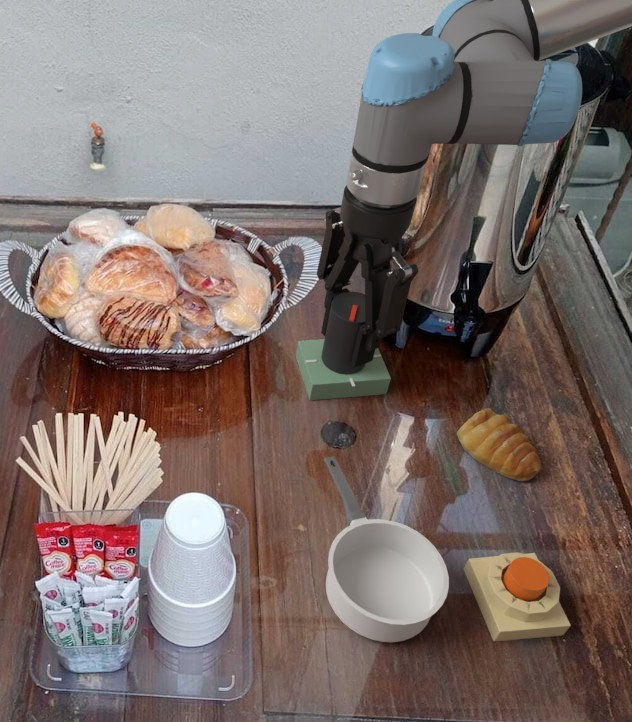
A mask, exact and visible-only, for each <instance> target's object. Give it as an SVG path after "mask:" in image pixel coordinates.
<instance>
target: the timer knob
mask: <svg viewBox="0 0 632 722" xmlns="http://www.w3.org/2000/svg"><path fill="white" fill-rule="evenodd" d="M363 324H365V293H362V292H359V291H350V292H345V293H341V294H339V295H337V296H336V297H335V298H334V299H333V300H332V303H331V309H330V314H329V319H328V324H327V329H326V334H325V336H324V339H325V340H324V345H323V350H322V355H321V358H322V361H323V363H324V365H325V366H326V367H327V368H329V369H330V370H332V371H334V372H336V373H340V374H354V373H357V372H359V371H360V370H362V369H363V368H364V366H365V364H366V363H365V364H363V365H360V366H358V367H355V368H354V367H353V366H352V365H351V361H352V356H353V352H354V348H355V344H356V339H357V335H358V331H359V327H360V325H363Z"/></svg>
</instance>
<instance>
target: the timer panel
mask: <svg viewBox="0 0 632 722" xmlns="http://www.w3.org/2000/svg"><path fill="white" fill-rule="evenodd" d="M324 340H325V338H318V339H305V340H304V339H303V340H297V346H296V347H297V348H296V351H295V358H296V362H297V365H298V369H299V372H300V375H301V378H302V381H303V384H304V388H305V390H306V394H307V397H308V400H309V401H320V400H332V399H346V398H356V397H368V396H369V397H370V396H381V395H387V394H388V390H389V387H390V383H391V380H392V378H391V375H390V373H389V371H388V369H387V366H386V364H385V361H384V359H383V356H382V354H381V352H380V349H379V348H377V349H375V353H374V356H373V360H372V361H371V362H368V363H366V364H365V366H364V368H363V369H362V370H360V371H359V372H357V373H354V374H340V373H336V372H334V371H332V370H330V369H329V368H327V367H326V366H325V365H324V363H323V361H322V358H321V355H322V350H323V345H324Z"/></svg>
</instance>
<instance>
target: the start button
mask: <svg viewBox="0 0 632 722" xmlns="http://www.w3.org/2000/svg"><path fill="white" fill-rule="evenodd" d="M504 584H505V586H506V588H507V589H508V591H509V592H510V593H511V594H513V595H514V596H515V597H517V598H519V599H522V600H528V601H529V600H535V599H537V598H539V597H540V596H541V594H542V593H543V591H544V590H545V589H546V587H547V586H548V584H549V574H548V572H547V570H546V569H545V567H544V566H543V565H542V564H541V563H539V562H538V561H536V560H534V559H531V558H527V557H520V558H516V559H515V560H513V561H512V562H511V564H510V566H509V567H508V569H507V571H506V572H505V574H504Z"/></svg>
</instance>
